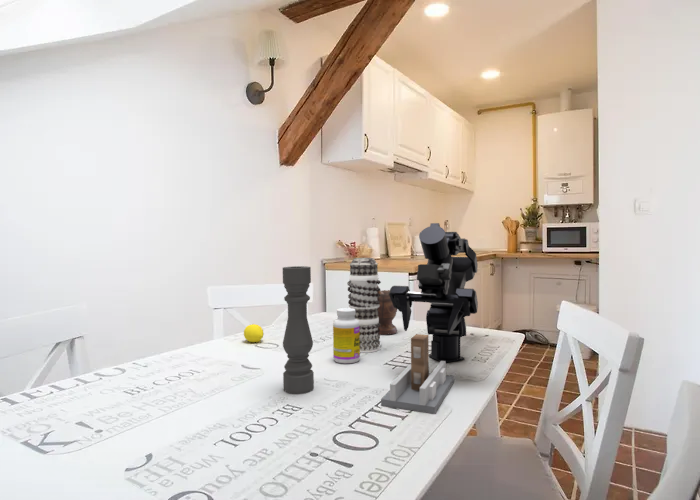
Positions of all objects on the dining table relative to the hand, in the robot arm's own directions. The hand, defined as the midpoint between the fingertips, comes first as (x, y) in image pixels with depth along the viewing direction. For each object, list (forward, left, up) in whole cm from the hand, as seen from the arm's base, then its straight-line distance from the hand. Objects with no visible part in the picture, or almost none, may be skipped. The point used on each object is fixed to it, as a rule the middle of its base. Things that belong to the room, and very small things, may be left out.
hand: (426, 331), depth 92 cm
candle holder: (+25, -9, -11) cm, 29 cm away
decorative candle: (-1, -31, -11) cm, 33 cm away
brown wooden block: (+4, +4, -10) cm, 11 cm away
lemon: (+25, -53, -11) cm, 60 cm away
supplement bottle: (+8, -23, -11) cm, 27 cm away
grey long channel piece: (+4, +4, -11) cm, 12 cm away
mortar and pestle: (-14, -45, -11) cm, 49 cm away
